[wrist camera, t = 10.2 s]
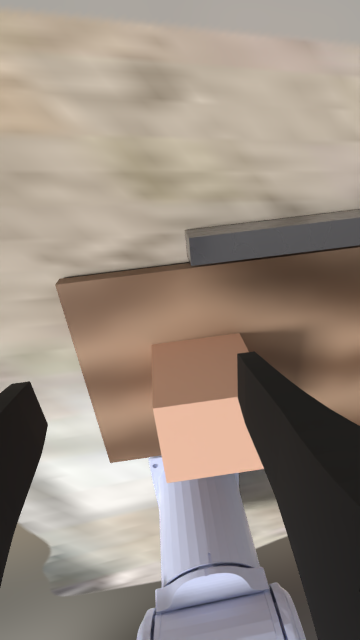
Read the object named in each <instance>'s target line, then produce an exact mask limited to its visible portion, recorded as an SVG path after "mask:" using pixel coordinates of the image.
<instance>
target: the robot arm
mask: <svg viewBox="0 0 360 640" xmlns="http://www.w3.org/2000/svg"><path fill="white" fill-rule="evenodd" d="M237 378H238V401H239V404H240V408H241V412H242V415H243V418H244V422H245V425H246V427H247V430H248V432H249V434H250V437H251V439H252V441H253V444H254V446H255V449H256V451H257V453H258V456H259V458H260V460H261V463H262V465H263V467H264V470H265V472H266V474H267V477H268V479H269V481H270V484H271V486H272V489H273V492H274V494H275V497H276V500H277V503H278V506H279V509H280V513H281V516H282V519H283V522H284V525H285V528H286V531H287V535H288V538H289V541H290V544H291V548H292V551H293V554H294V557H295V561H296V564H297V567H298V571H299V574H300V578H301V581H302V584H303V588H304V592H305V595H306V598H307V602H308V605H309V609H310V612H311V616H312V620H313V623H314V627H315V631H316V634H317V637H318V640H360V426H359V425H357V424H355V423H354V422H352V421H350V420H348V419H347V418H345V417H343V416H342V415H340V414H338V413H336V412H335V411H333V410H331V409H330V408H328V407H327V406H325V405H324V404H322V403H321V402H319V401H318V400H316V399H315V398H313V397H312V396H310V395H309V394H307V393H306V392H305V391H303V390H302V389H300V388H299V387H298V386H296V385H295V384H294V383H293V382H291V381H290V380H289V379H287V378H286V377H285V376H284V375H282V374H281V373H280V372H279V371H277V370H276V369H275V368H274V367H273V366H271V365H270V364H269V363H268V362H267V361H265V360H264V359H263V358H262V357H261V356H259V355H258V354H257V353H256V352H255V351H253V352H246V353H238V354H237ZM47 426H48V424H47V421H46V419H45V417H44V414H43V412H42V409H41V407H40V405H39V402H38V400H37V397H36V395H35V393H34V390H33V388H32V385H31V383H30V382H23V383H15V384H11V385H10V386H9V387H7V388H6V389H5V390H3V391H2V392H1V393H0V586H1V582H2V577H3V573H4V569H5V565H6V561H7V557H8V553H9V549H10V546H11V542H12V538H13V534H14V531H15V528H16V525H17V522H18V519H19V516H20V513H21V511H22V508H23V505H24V502H25V499H26V497H27V494H28V491H29V488H30V486H31V483H32V480H33V477H34V474H35V471H36V469H37V466H38V463H39V460H40V457H41V454H42V450H43V446H44V441H45V436H46V431H47ZM149 465H150V470H151V474H152V479H153V483H154V488H155V493H156V497H157V502H158V506H159V516H160V545H161V575H162V588H159V589H156V590H155V592H156V608H151V609H149V610H148V611H147V612H146V614H145V617H144V619H143V621H142V623H141V625H140V627H139V630H138V635H137V640H306V638H305V635H304V632H303V629H302V626H301V623H300V620H299V617H298V614H297V612H296V609H295V606H294V604H293V601H292V599H291V597H290V595H289V593H288V592H287V591H285V590H284V589H283V588H282V587H280V585H279V584H278V583H277V582H275V583H272V584H270V585H269V586H268V583H267V579H266V576H265V572H264V569H263V567H260V565H259V561H258V558H257V554H256V551H255V547H254V543H253V539H252V536H251V532H250V528H249V525H248V521H247V517H246V514H245V510H244V506H243V503H242V499H241V495H240V492H239V473H233V474H226V475H219V476H213V477H206V478H199V479H192V480H186V481H179V482H172V483H167V482H166V477H165V471H164V466H163V461H162V455H161V456H154V457H150V458H149ZM269 587H270V590H269Z"/></svg>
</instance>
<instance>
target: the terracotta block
mask: <svg viewBox="0 0 360 640" xmlns="http://www.w3.org/2000/svg"><path fill="white" fill-rule="evenodd" d="M151 347H152V393H153V412H154V418H155V423H156V428H157V434H158V439H159V444H160V450H161V455H162V461H163V466H164V471H165V477H166V482H167V483H172V482H179V481H186V480H192V479H199V478H206V477H213V476H219V475H226V474H233V473H240V472H246V471H253V470H260V469H264V467H263V465H262V463H261V460H260V458H259V456H258V453H257V451H256V449H255V446H254V444H253V441H252V439H251V437H250V434H249V432H248V430H247V427H246V425H245V422H244V418H243V415H242V412H241V408H240V404H239V401H238V378H237V354H238V353H246V352H249V351H248V349H247V347H246V345H245V343H244V341H243V339H242V337H241V335H240V333H236V334H228V335H221V336H213V337H205V338H198V339H190V340H183V341H175V342H168V343H160V344H152V345H151Z"/></svg>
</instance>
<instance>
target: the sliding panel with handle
mask: <svg viewBox="0 0 360 640" xmlns="http://www.w3.org/2000/svg"><path fill="white" fill-rule="evenodd" d="M56 289H57V292H58V295H59V298H60V302H61V305H62V308H63V311H64V315H65V318H66V321H67V324H68V328H69V331H70V334H71V337H72V341H73V344H74V347H75V350H76V353H77V357H78V360H79V363H80V366H81V370H82V373H83V376H84V379H85V383H86V386H87V389H88V392H89V396H90V399H91V402H92V405H93V409H94V412H95V415H96V418H97V422H98V425H99V428H100V431H101V434H102V438H103V441H104V444H105V447H106V451H107V454H108V457H109V460H110V463H113V462H120V461H127V460H134V459H140V458H147V457H154V456H161V450H160V444H159V439H158V434H157V428H156V423H155V418H154V412H153V393H152V347H151V345H152V344H160V343H168V342H175V341H183V340H190V339H198V338H205V337H213V336H221V335H228V334H236V333H240V335H241V337H242V339H243V341H244V343H245V345H246V347H247V349H248V351H249V352H253V351H255V352H256V353H257V354H258V355H259V356H261V357H262V358H263V359H264V360H265V361H267V362H268V363H269V364H270V365H271V366H273V367H274V368H275V369H276V370H277V371H279V372H280V373H281V374H282V375H284V376H285V377H286V378H287V379H289V380H290V381H291V382H293V383H294V384H295V385H296V386H298V387H299V388H300V389H302V390H303V391H305V392H306V393H307V394H309V395H310V396H312V397H313V398H315V399H316V400H318V401H319V402H321V403H322V404H324V405H325V406H327V407H328V408H330V409H331V410H333V411H335V412H336V413H338V414H340V415H342V416H343V417H345V418H347V419H348V420H350V421H352V422H354V423H355V424H357V425H359V426H360V245H357V246H349V247H341V248H333V249H325V250H317V251H309V252H301V253H292V254H284V255H276V256H268V257H260V258H252V259H244V260H236V261H228V262H220V263H212V264H203V265H195V266H191V264H190V263H185V264H176V265H168V266H160V267H152V268H144V269H136V270H128V271H120V272H112V273H103V274H95V275H87V276H79V277H71V278H63V279H59V280H58V282H57V283H56Z"/></svg>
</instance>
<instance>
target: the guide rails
mask: <svg viewBox="0 0 360 640" xmlns="http://www.w3.org/2000/svg"><path fill="white" fill-rule="evenodd" d="M185 237H186V248H187V257H188V259H189V262H190V264H191V266H195V265H203V264H212V263H220V262H228V261H236V260H244V259H252V258H260V257H268V256H276V255H284V254H292V253H301V252H309V251H317V250H325V249H333V248H341V247H349V246H357V245H360V209H358V210H349V211H341V212H333V213H324V214H316V215H308V216H299V217H291V218H282V219H274V220H266V221H257V222H249V223H241V224H232V225H224V226H215V227H207V228H199V229H190V230H185Z"/></svg>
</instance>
